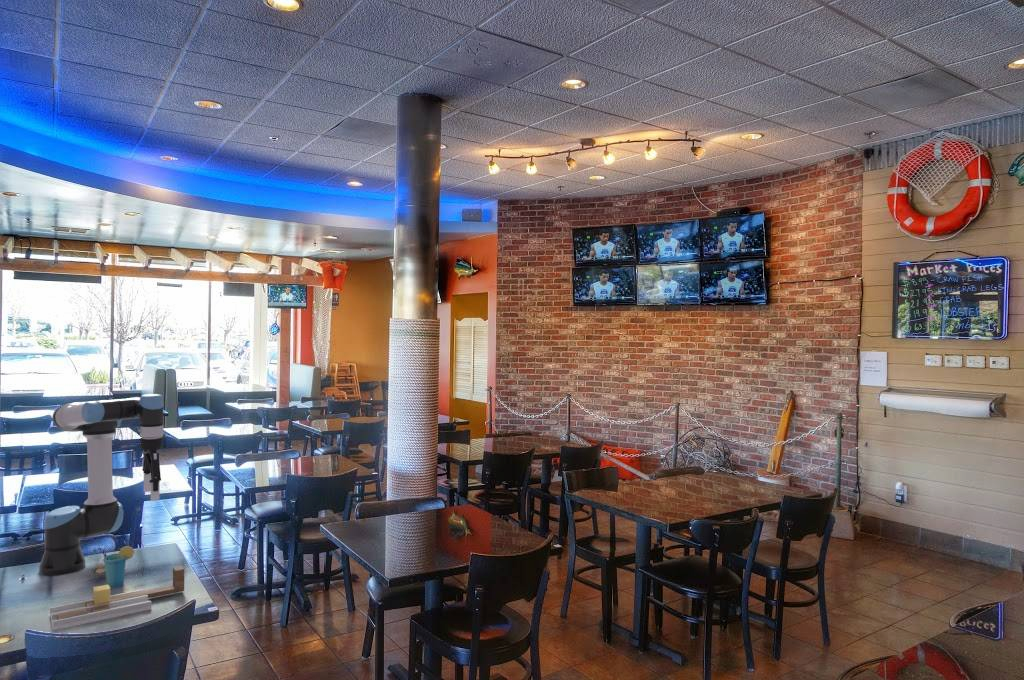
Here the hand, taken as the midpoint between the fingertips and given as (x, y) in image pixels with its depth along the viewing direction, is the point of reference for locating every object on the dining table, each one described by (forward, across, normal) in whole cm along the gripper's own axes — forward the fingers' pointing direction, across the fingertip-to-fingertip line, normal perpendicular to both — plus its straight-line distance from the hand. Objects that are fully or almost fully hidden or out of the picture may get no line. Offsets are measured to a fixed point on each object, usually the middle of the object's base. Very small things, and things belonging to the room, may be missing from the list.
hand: (151, 495), depth 253 cm
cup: (+35, -12, -11) cm, 38 cm away
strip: (+33, +8, -6) cm, 35 cm away
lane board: (+35, +12, -17) cm, 40 cm away
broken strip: (+34, +15, -22) cm, 43 cm away
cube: (+32, +8, -16) cm, 37 cm away
